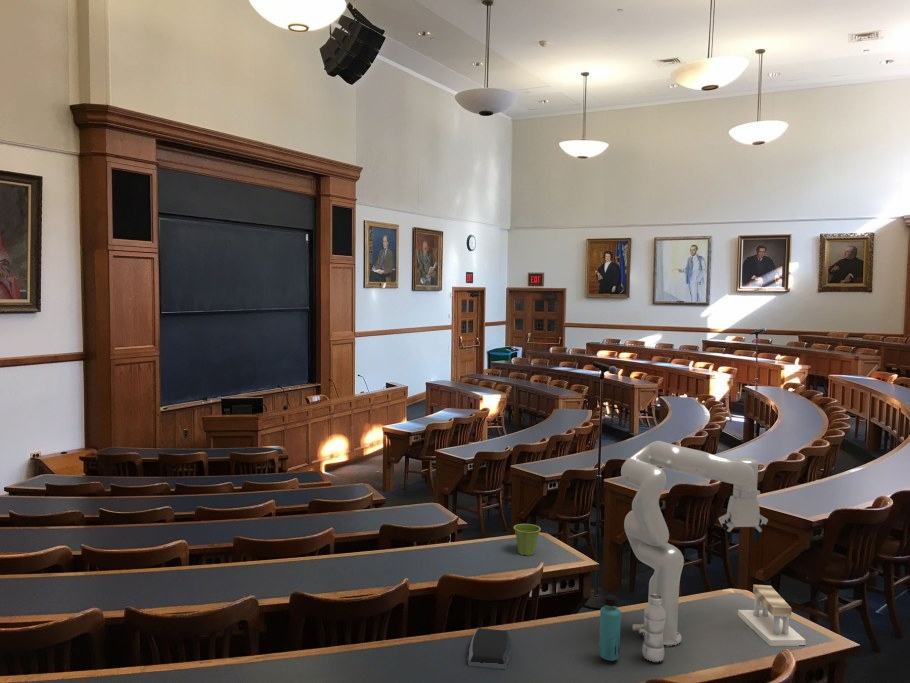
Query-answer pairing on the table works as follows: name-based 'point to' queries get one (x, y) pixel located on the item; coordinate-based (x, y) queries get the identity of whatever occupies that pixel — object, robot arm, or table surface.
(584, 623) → the table surface
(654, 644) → the plastic bottle
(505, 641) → the external hard drive
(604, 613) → the beverage bottle
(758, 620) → the peg stand
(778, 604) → the shelf board
